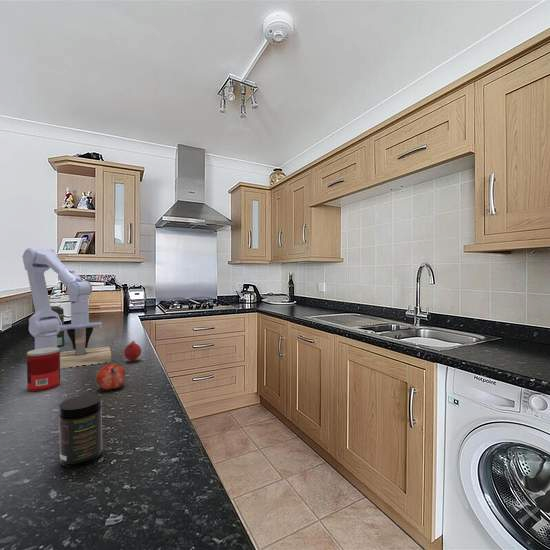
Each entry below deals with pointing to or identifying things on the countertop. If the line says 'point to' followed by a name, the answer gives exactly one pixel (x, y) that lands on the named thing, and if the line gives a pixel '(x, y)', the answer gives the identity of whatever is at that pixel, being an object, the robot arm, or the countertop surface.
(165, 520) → the countertop surface
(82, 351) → the orange brown rectangular block
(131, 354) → the onion
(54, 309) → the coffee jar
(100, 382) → the pomegranate
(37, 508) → the countertop surface
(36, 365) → the canned food
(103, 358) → the beige wooden board
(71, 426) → the supplement container
